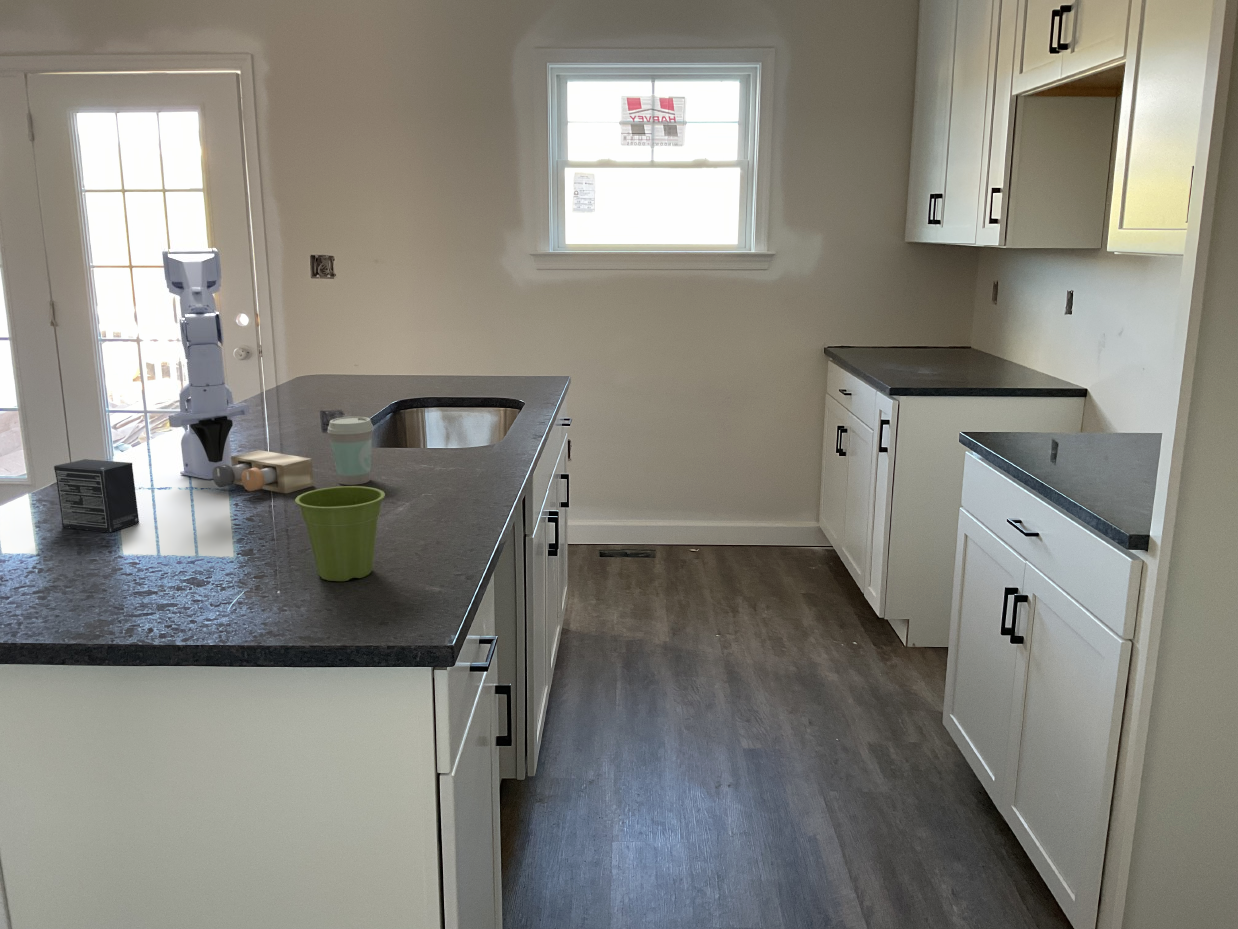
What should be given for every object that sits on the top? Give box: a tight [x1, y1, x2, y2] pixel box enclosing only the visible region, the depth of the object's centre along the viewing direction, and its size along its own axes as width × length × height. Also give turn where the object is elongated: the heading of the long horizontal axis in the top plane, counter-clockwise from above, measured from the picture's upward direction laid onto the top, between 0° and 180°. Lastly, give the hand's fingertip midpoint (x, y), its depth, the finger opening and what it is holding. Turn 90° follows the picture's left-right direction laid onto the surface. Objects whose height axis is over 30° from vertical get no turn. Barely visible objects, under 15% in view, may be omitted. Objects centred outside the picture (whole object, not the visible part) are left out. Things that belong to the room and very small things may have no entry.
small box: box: [53, 458, 140, 533], centre depth 158 cm, size 11×6×10 cm, turn 71°
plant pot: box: [294, 485, 386, 582], centre depth 134 cm, size 12×12×11 cm
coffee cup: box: [327, 416, 375, 486], centre depth 185 cm, size 8×8×12 cm
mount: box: [231, 449, 314, 494], centre depth 184 cm, size 15×6×5 cm, turn 58°
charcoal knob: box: [212, 462, 252, 488], centre depth 181 cm, size 7×4×4 cm, turn 148°
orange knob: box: [241, 466, 278, 492], centre depth 178 cm, size 7×4×4 cm, turn 148°
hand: (215, 461), depth 169 cm, fingers closed
